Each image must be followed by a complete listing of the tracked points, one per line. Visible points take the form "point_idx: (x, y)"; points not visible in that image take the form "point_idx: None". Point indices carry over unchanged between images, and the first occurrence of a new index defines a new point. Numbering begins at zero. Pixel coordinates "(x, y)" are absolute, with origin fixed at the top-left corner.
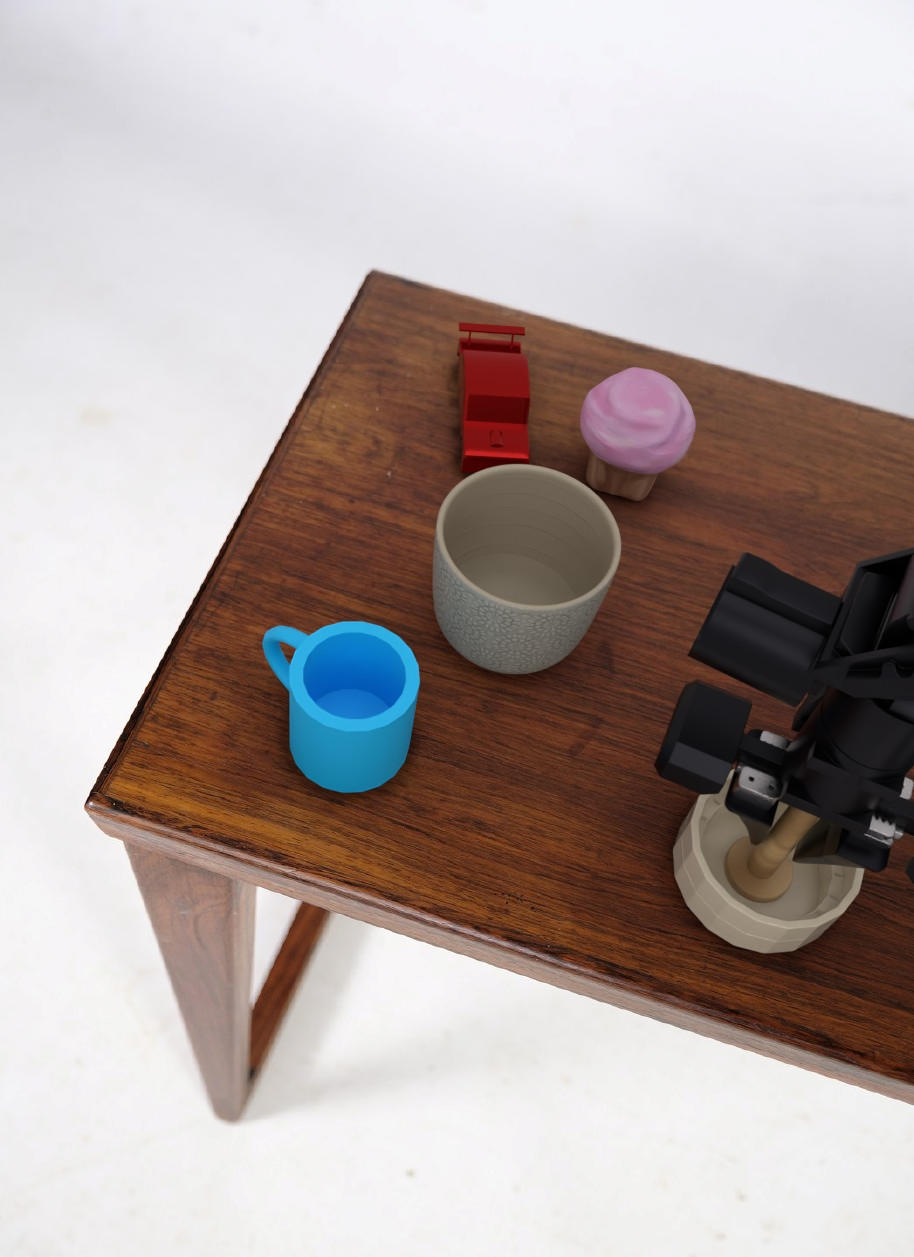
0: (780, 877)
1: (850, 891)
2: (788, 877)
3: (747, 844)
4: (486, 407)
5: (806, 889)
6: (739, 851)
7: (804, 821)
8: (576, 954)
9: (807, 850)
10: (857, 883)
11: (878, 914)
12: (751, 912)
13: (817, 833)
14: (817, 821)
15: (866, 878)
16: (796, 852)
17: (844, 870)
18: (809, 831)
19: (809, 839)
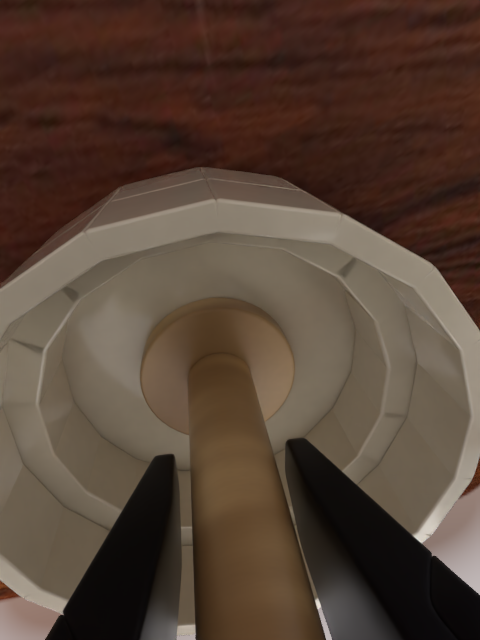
0: (268, 378)
1: (449, 488)
2: (285, 372)
3: (172, 350)
4: None
5: (327, 346)
6: (162, 372)
7: None
8: (7, 591)
9: (328, 612)
10: (469, 467)
11: (471, 302)
12: None
13: (359, 637)
14: (349, 558)
15: (448, 239)
16: (292, 486)
17: (417, 354)
18: (321, 524)
19: (328, 573)
